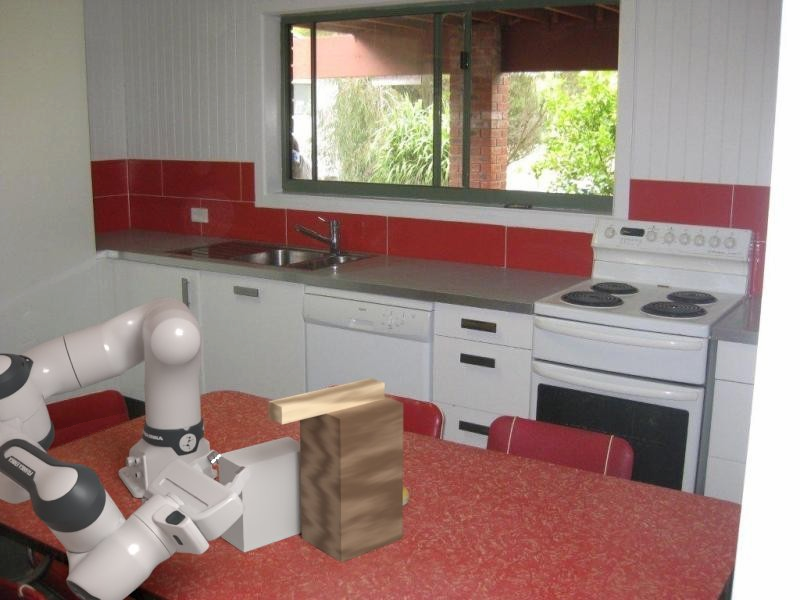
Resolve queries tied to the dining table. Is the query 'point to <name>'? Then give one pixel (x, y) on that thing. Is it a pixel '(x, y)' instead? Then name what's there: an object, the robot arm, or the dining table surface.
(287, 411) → the oak slat
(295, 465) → the grey step
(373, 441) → the walnut block
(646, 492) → the dining table surface
